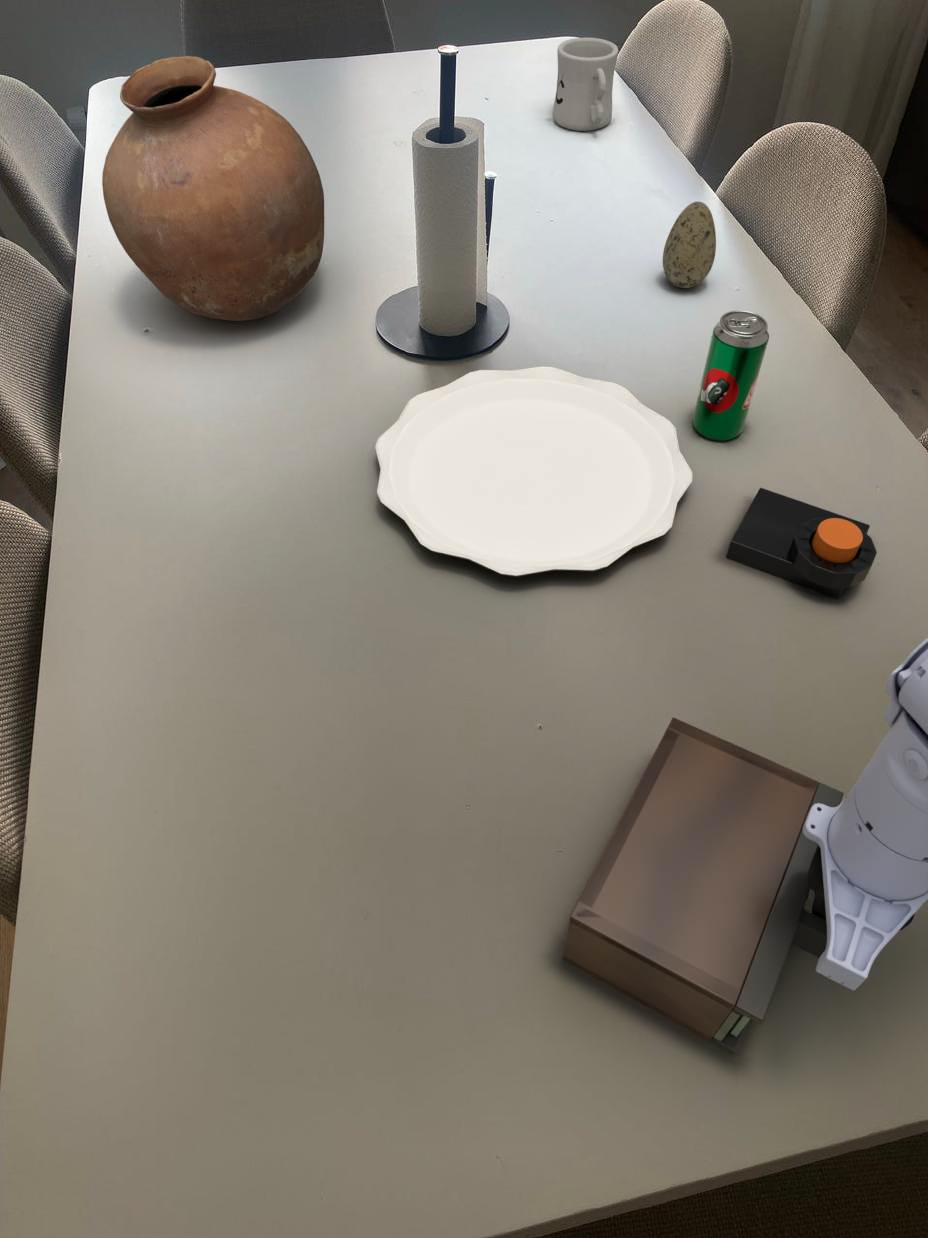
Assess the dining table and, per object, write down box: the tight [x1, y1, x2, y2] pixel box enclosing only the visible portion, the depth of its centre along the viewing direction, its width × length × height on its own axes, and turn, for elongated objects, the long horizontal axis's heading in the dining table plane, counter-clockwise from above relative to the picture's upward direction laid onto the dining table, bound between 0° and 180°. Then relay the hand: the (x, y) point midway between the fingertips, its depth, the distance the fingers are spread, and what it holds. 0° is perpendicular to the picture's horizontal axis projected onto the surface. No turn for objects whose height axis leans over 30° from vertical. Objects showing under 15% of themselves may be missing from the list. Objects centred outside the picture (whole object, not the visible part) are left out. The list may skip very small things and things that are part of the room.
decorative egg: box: [662, 201, 717, 289], centre depth 106 cm, size 6×6×10 cm
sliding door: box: [731, 908, 827, 1036], centre depth 54 cm, size 3×8×5 cm, turn 150°
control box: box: [725, 487, 878, 601], centre depth 79 cm, size 11×9×4 cm
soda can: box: [692, 310, 770, 442], centre depth 88 cm, size 5×5×12 cm
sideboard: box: [560, 717, 845, 1056], centre depth 58 cm, size 12×16×7 cm
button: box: [812, 518, 863, 563], centre depth 76 cm, size 4×4×2 cm
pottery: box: [101, 55, 325, 322], centre depth 99 cm, size 23×23×25 cm
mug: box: [552, 37, 619, 132], centre depth 136 cm, size 12×9×10 cm
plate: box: [374, 365, 693, 578], centre depth 87 cm, size 29×29×2 cm
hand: (830, 916), depth 55 cm, fingers closed
